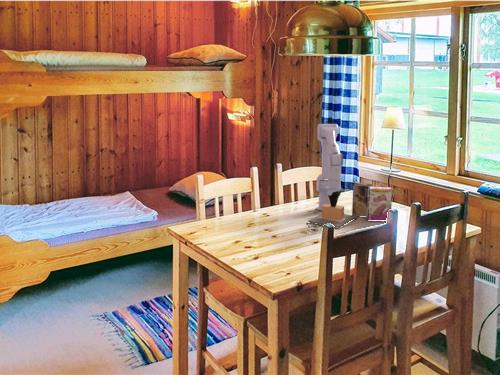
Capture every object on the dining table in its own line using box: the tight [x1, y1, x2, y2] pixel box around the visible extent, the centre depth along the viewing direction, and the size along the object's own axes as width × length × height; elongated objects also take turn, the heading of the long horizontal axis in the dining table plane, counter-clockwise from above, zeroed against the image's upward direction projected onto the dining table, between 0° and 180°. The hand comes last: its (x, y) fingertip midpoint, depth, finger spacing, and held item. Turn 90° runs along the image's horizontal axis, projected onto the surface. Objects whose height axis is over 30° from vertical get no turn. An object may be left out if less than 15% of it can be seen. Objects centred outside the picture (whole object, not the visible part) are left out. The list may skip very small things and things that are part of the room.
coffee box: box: [351, 182, 374, 216], centre depth 280 cm, size 9×6×16 cm
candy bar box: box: [365, 186, 394, 221], centre depth 272 cm, size 11×5×16 cm, turn 84°
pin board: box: [307, 213, 358, 229], centre depth 273 cm, size 20×16×5 cm
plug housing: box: [321, 204, 345, 221], centre depth 273 cm, size 5×10×6 cm, turn 63°
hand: (333, 206), depth 272 cm, fingers closed, pressing on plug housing
